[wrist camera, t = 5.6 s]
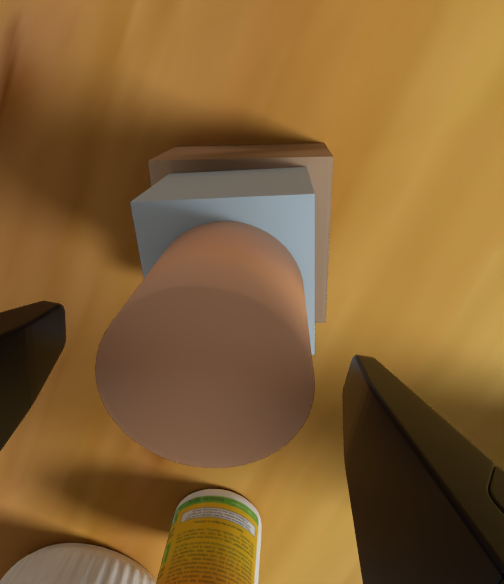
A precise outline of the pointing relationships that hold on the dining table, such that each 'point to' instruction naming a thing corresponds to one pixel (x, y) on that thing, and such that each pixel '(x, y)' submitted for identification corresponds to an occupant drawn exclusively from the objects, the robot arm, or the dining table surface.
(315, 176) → the walnut base block
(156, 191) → the slate block
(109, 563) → the ramekin
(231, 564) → the supplement bottle
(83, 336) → the dining table surface
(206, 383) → the terracotta dowel
